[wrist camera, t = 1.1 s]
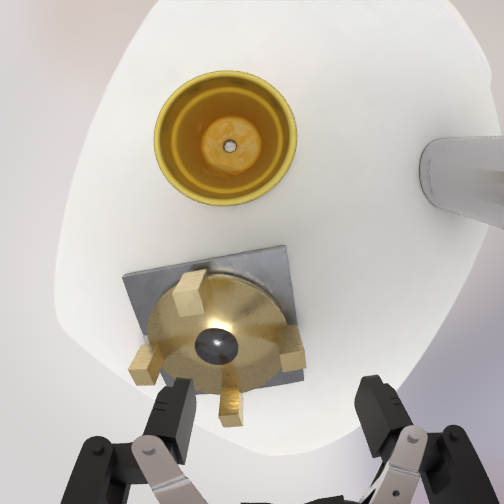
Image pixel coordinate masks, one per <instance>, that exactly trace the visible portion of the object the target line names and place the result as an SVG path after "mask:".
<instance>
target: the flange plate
mask: <svg viewBox="0 0 504 504" xmlns="http://www.w3.org/2000/svg"><path fill="white" fill-rule="evenodd" d="M204 269H206V270H207V274H225V275H231V276H235V277H239V278H242V279H244V280H247V281H249V282H251V283H253V284H255V285H257V286H259V287H260V288H261V289H263V290H264V291H266V292H267V293H268V294H269V295H270V296H271V297H272V298H273V299H274V300H275V301H276V303H277V304H278V305H279V307H280V309H281V310H282V312H283V314H284V317H285V319H286V323H287V326H288V325H293V324H297V319H296V312H295V305H294V298H293V291H292V284H291V277H290V270H289V264H288V257H287V251H286V246H285V245H281V246H276V247H271V248H265V249H260V250H254V251H249V252H243V253H238V254H232V255H227V256H222V257H216V258H211V259H205V260H200V261H194V262H189V263H184V264H178V265H173V266H167V267H162V268H157V269H151V270H146V271H140V272H135V273H130V274H125V275H124V276H123V277H122V279H123V282H124V284H125V287H126V290H127V293H128V296H129V299H130V301H131V304H132V307H133V310H134V312H135V315H136V317H137V320H138V322H139V325H140V327H141V330H142V332H143V337H144V339H145V342H146V344H149V341H148V333H147V329H148V321H149V318H150V315H151V312H152V310H153V308H154V307H155V305H156V303H157V302H158V300H159V299H160V298H161V296H162V295H163V294H164V293H165V292H166V291H167V290H168V289H169V288H170V287H172V286H173V285H174V284H176V283H178V282H179V281H180V279H181V277H182V276H183V274H184V273H187V272H193V271H198V270H204ZM160 373H161V375H162V377H163V379H164V381H165V383H166V385H167V386H168V387H173V385H174V382H175V379H174V378H172V377H171V376H170V375H169V374H168V373H167V372H165V370H164V369H163V368H161V370H160ZM299 381H304V375H303V369H299V370H294V371H288V372H283V371H282V367H281V369H280V370H279V371H278V373H277V374H276V375H275V376H274V377H273V378H271V379H270V380H269V381H268V382H266V383H265V384H263V385H261V386H259V387H258V388H264V387H271V386H277V385H283V384H288V383H294V382H299ZM255 389H257V388H255ZM198 394H209V393H204V392H200V391H197V390H195V395H198Z"/></svg>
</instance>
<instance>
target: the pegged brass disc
mask: <svg viewBox="0 0 504 504" xmlns="http://www.w3.org/2000/svg"><path fill="white" fill-rule="evenodd" d="M147 333H148V341H149V344H146V345H141V347H140V348H139V350H138V352H137V354H136V356H135V358H134V359H133V361H132V363H131V365H130V367H129V369H128V371H129V373H130V375H131V376H132V378H133V380H134V382H135V384H136V385H155V383H156V381H157V378H158V376H159V373H160V370H161V368H163V369H164V370H165V372H167V373H168V374H169V375H170V376H171V377H172V378H174V379H176V377H182V378H192V379H193V383H194V389H195V390H197V391H200V392H204V393H209V394H216V395H221V397H220V406H219V415H218V416H219V419H220V421H221V423H222V425H223V427H237V426H243V395H242V393H243V392H247V391H250V390H253V389H255V388H258V387H259V386H261V385H263V384H265V383H266V382H268V381H269V380H270V379H271V378H273V377H274V376H275V375H276V374H277V373H278V371H279V370H280V369H281V367H282V371H283V372H288V371H294V370H299V369H304V368H306V361H305V352H304V347H303V344H302V340H301V337H300V334H299V330H298V327H297V324H293V325H288V326H287V323H286V319H285V317H284V314H283V312H282V310H281V309H280V307H279V305H278V304H277V303H276V301H275V300H274V299H273V298H272V297H271V296H270V295H269V294H268V293H267V292H266V291H264V290H263V289H261V288H260V287H259V286H257V285H255V284H253V283H251V282H249V281H247V280H244V279H242V278H239V277H235V276H231V275H225V274H207V270H206V269H204V270H198V271H193V272H187V273H184V274H183V276H182V277H181V279H180V281H179V282H178V283H176V284H174V285H173V286H172V287H170V288H169V289H168V290H167V291H166V292H165V293H164V294H163V295H162V296H161V298H160V299H159V300H158V302H157V303H156V305H155V307H154V308H153V310H152V312H151V315H150V318H149V321H148V329H147Z"/></svg>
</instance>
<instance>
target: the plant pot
mask: <svg viewBox="0 0 504 504" xmlns="http://www.w3.org/2000/svg"><path fill="white" fill-rule="evenodd" d="M227 141H234V142H235V143H236V149H235V151H233V152H227V151H226V150H225V149H224V144H225V143H226V142H227ZM296 145H297V128H296V123H295V119H294V116H293V113H292V111H291V109H290V107H289V105H288V103H287V101H286V100H285V98H284V97H283V96H282V95H281V94H280V92H279V91H278V90H277V89H275V88H274V87H273V86H272V85H271V84H269V83H268V82H266V81H265V80H263V79H261V78H259V77H257V76H255V75H252V74H249V73H245V72H240V71H215V72H210V73H206V74H203V75H200V76H197V77H195V78H193V79H191V80H189V81H188V82H186V83H185V84H183V85H182V86H181V87H179V88H178V89H177V90H176V91H175V92H174V93H173V94H172V95H171V96H170V97H169V98H168V100H167V101H166V102H165V104H164V105H163V107H162V109H161V111H160V113H159V115H158V118H157V121H156V125H155V130H154V151H155V155H156V159H157V162H158V165H159V167H160V169H161V171H162V173H163V175H164V176H165V177H166V179H167V180H168V181H169V182H170V184H171V185H172V186H173V187H174V188H176V189H177V190H178V191H179V192H180V193H182V194H183V195H185V196H187V197H188V198H190V199H192V200H194V201H197V202H200V203H203V204H207V205H212V206H235V205H240V204H244V203H247V202H250V201H253V200H255V199H257V198H259V197H261V196H263V195H264V194H266V193H267V192H269V191H270V190H271V189H272V188H273V187H275V186H276V185H277V184H278V183H279V182H280V180H281V179H282V178H283V177H284V175H285V174H286V172H287V171H288V169H289V167H290V165H291V163H292V161H293V158H294V155H295V151H296Z"/></svg>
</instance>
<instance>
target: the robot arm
mask: <svg viewBox="0 0 504 504" xmlns="http://www.w3.org/2000/svg"><path fill="white" fill-rule="evenodd" d="M420 180H421V185H422V188H423V191H424V193H425V195H426V197H427V198H428V200H429V201H430V202H431V203H432V204H433V205H434V206H436V207H438V208H440V209H443V210H446V211H450V212H453V213H456V214H459V215H462V216H466V217H469V218H472V219H475V220H478V221H481V222H484V223H487V224H490V225H493V226H496V227H499V228H502V229H504V136H482V137H458V138H443V139H437V140H434V141H433V142H431V143H430V144H429V145H428V146H427V147H426V148H425V150H424V152H423V154H422V158H421V161H420ZM354 404H355V410H356V412H357V415H358V418H359V421H360V423H361V426H362V429H363V432H364V434H365V437H366V440H367V443H368V446H369V448H370V452H371V454H372V457H373V458H376V457H380V456H381V458H382V461H381V463H380V465H379V467H378V469H377V471H376V473H375V475H374V477H373V479H372V481H371V483H370V485H369V487H368V489H367V490H366V492H365V494H364V495H363V496H362V498H361V499H360V501H359V502H354V501H348V500H344V497H343V495H340V496H335V497H329V498H321V499H317V500H314V501H311V502H308V503H305V504H410V503H411V500H412V497H413V495H414V492H415V490H416V487H417V484H418V482H419V478H420V476H421V478H422V481H423V484H424V487H425V490H426V493H427V496H428V500H429V503H430V504H499V501H498V499H497V497H496V494H495V492H494V489H493V487H492V485H491V483H490V480H489V478H488V476H487V474H486V472H485V470H484V467H483V465H482V463H481V461H480V459H479V457H478V455H477V453H476V451H475V449H474V447H473V445H472V443H471V441H470V440H469V438H468V436H467V434H466V432H465V431H464V429H463V428H462V427H460V426H457V425H450V426H447V427H446V428H445V429H444V430H443V432H442V433H426V431H425V430H424V429H423V428H421V427H419V426H415V425H413V423H412V421H411V419H410V417H409V415H408V413H407V411H406V410H405V408H404V406H403V404H402V402H401V400H400V398H398V395H397V393H396V391H395V389H394V388H392V387H391V386H390V385H389V384H388V383H386V384H383V382H382V380H381V378H380V377H379V375H372V376H364V377H362V379H361V382H360V385H359V388H358V391H357V394H356V396H355V402H354ZM195 413H196V396H195V389H194V383H193V379H192V378H182V377H176V379H175V382H174V385H173V387H168V386H165V387H164V388H163V389H162V390H161V391H160V392H159V393H158V395H157V398H156V400H155V403H154V406H153V410H152V411H151V414H150V417H149V419H148V422H147V425H146V428H145V430H144V433H143V435H142V436H140V437H139V438H137V439H136V440H134V442H131V443H120V444H111V442H110V441H109V440H108V439H106V438H104V437H101V436H94V437H91V438H89V439H87V440H86V441H85V442H84V444H83V446H82V449H81V451H80V454H79V456H78V458H77V461H76V463H75V466H74V469H73V471H72V474H71V476H70V479H69V482H68V484H67V487H66V490H65V492H64V495H63V498H62V501H61V504H126V503H127V499H128V495H129V490H130V486H131V484H149V485H150V487H151V489H152V491H153V493H154V494H155V496H156V498H157V500H158V501H159V503H160V504H208V503H207V502H206V500H205V499H204V498H203V497H202V495H201V494H200V493H199V491H198V490H197V489H196V488H195V486H194V485H193V484H192V482H191V481H190V480H189V479H188V478H187V477H186V476H185V475H184V474H183V472H182V471H181V469H180V468H179V466H178V464H181V465H185V461H186V456H187V451H188V446H189V441H190V436H191V431H192V427H193V422H194V417H195ZM241 504H271V503H241Z"/></svg>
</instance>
